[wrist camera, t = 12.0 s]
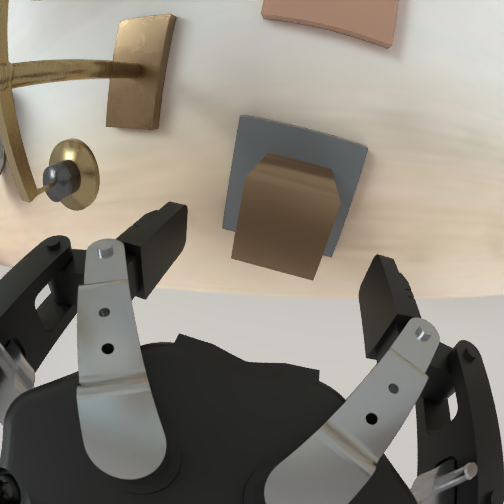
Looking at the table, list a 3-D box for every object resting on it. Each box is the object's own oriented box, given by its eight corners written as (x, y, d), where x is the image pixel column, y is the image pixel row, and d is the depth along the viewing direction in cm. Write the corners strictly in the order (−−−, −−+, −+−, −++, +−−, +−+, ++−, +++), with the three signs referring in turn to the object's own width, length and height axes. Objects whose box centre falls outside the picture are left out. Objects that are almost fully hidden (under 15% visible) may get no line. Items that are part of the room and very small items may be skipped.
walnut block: (268, 152, 18) (245, 177, 12) (331, 169, 18) (340, 202, 12) (256, 210, 21) (231, 258, 15) (314, 225, 20) (313, 280, 14)
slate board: (244, 115, 18) (240, 115, 17) (364, 145, 17) (368, 148, 16) (226, 222, 23) (222, 228, 22) (330, 249, 22) (331, 257, 21)
